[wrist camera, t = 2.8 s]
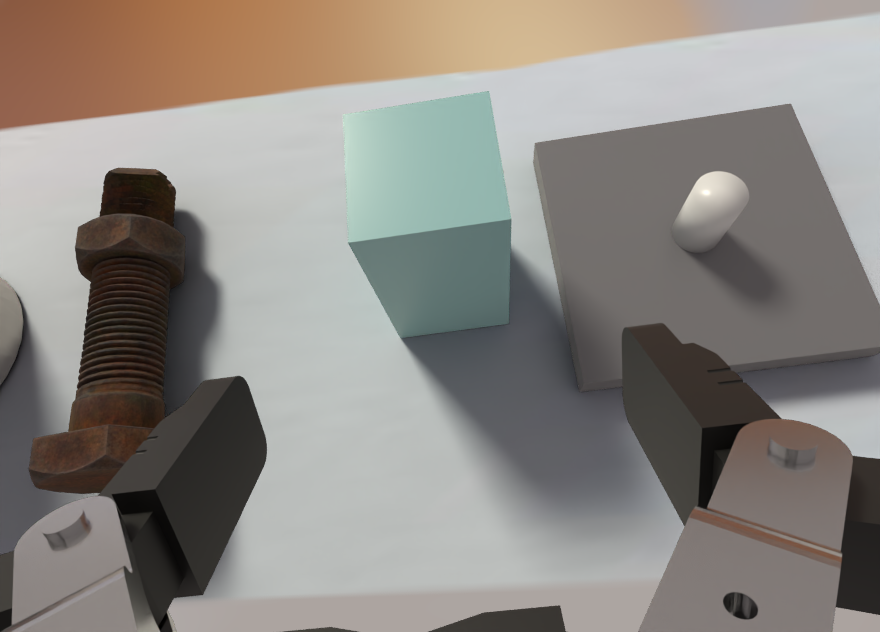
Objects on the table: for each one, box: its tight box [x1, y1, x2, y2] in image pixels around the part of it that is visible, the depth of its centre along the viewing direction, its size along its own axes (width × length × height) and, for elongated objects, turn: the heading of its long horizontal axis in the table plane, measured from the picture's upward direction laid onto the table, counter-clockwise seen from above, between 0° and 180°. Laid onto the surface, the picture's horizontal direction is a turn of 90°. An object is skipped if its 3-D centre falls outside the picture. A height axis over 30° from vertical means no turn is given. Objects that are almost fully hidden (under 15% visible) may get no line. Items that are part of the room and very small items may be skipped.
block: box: [343, 91, 511, 338], centre depth 21 cm, size 5×5×9 cm
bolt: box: [29, 168, 185, 494], centre depth 25 cm, size 6×5×15 cm
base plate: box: [533, 104, 880, 392], centre depth 23 cm, size 12×12×4 cm
